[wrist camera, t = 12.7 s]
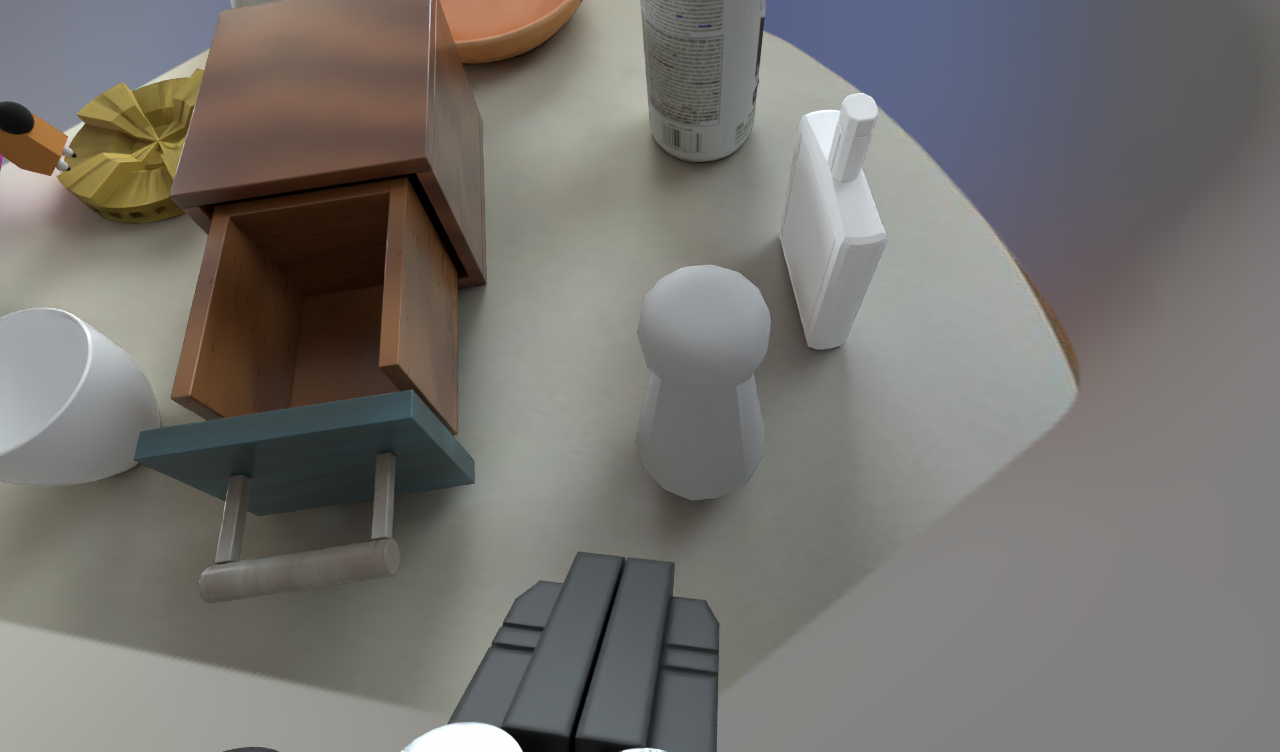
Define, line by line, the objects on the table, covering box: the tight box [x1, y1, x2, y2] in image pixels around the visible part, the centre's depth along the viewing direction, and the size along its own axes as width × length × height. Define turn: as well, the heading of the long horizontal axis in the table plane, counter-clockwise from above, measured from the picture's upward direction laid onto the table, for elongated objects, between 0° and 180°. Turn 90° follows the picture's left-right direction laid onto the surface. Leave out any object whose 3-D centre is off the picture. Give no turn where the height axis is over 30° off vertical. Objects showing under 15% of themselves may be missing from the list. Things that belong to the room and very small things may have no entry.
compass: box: [56, 69, 204, 223], centre depth 43 cm, size 12×12×2 cm
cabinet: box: [169, 0, 487, 288], centre depth 36 cm, size 14×12×10 cm
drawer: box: [133, 177, 475, 604], centre depth 29 cm, size 17×10×8 cm, turn 8°
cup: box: [0, 308, 161, 486], centre depth 31 cm, size 8×10×7 cm
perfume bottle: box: [779, 93, 887, 350], centre depth 30 cm, size 8×2×12 cm, turn 6°
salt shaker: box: [636, 265, 771, 501], centre depth 26 cm, size 6×6×13 cm
